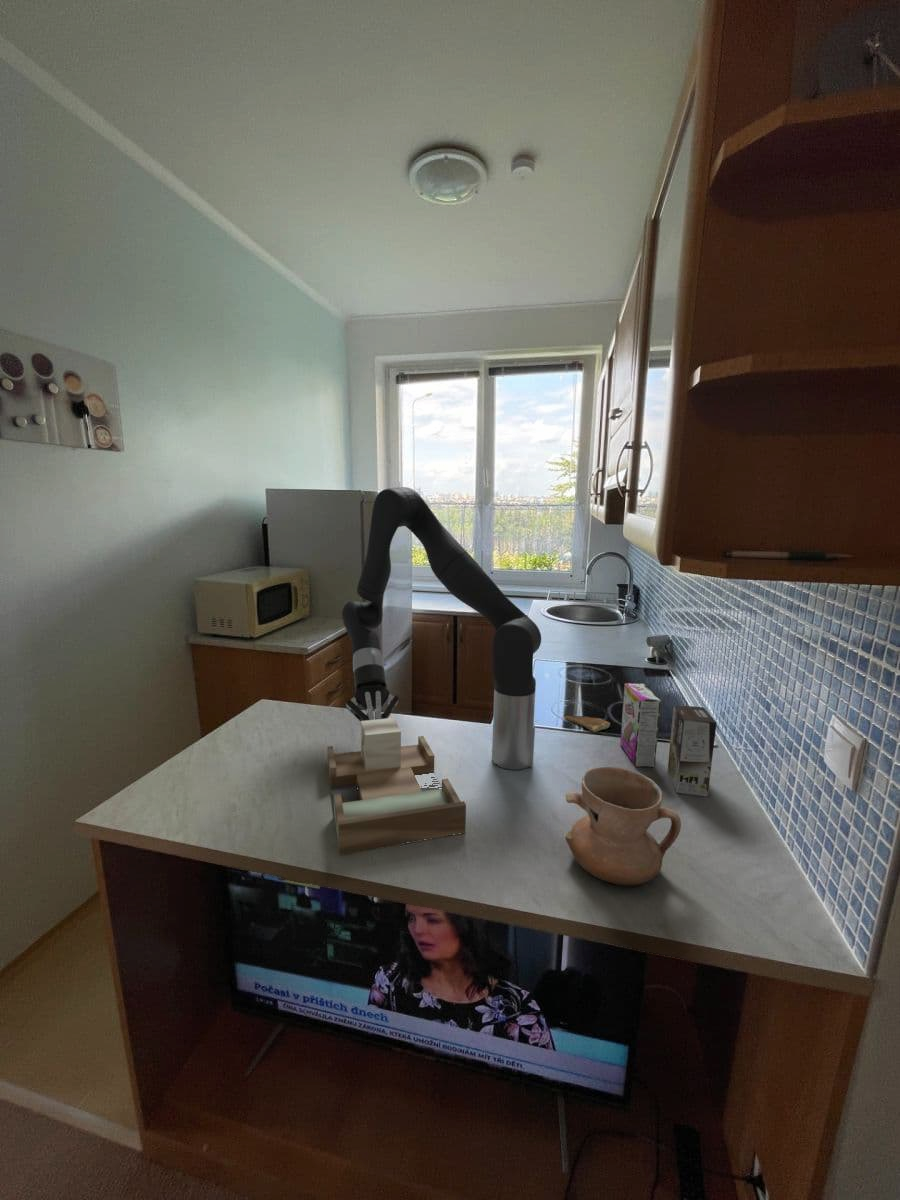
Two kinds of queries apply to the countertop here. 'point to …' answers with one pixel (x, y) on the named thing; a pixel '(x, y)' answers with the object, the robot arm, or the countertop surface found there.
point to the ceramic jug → (620, 826)
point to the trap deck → (391, 801)
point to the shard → (589, 722)
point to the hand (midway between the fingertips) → (376, 737)
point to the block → (380, 744)
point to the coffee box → (691, 750)
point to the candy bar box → (640, 724)
